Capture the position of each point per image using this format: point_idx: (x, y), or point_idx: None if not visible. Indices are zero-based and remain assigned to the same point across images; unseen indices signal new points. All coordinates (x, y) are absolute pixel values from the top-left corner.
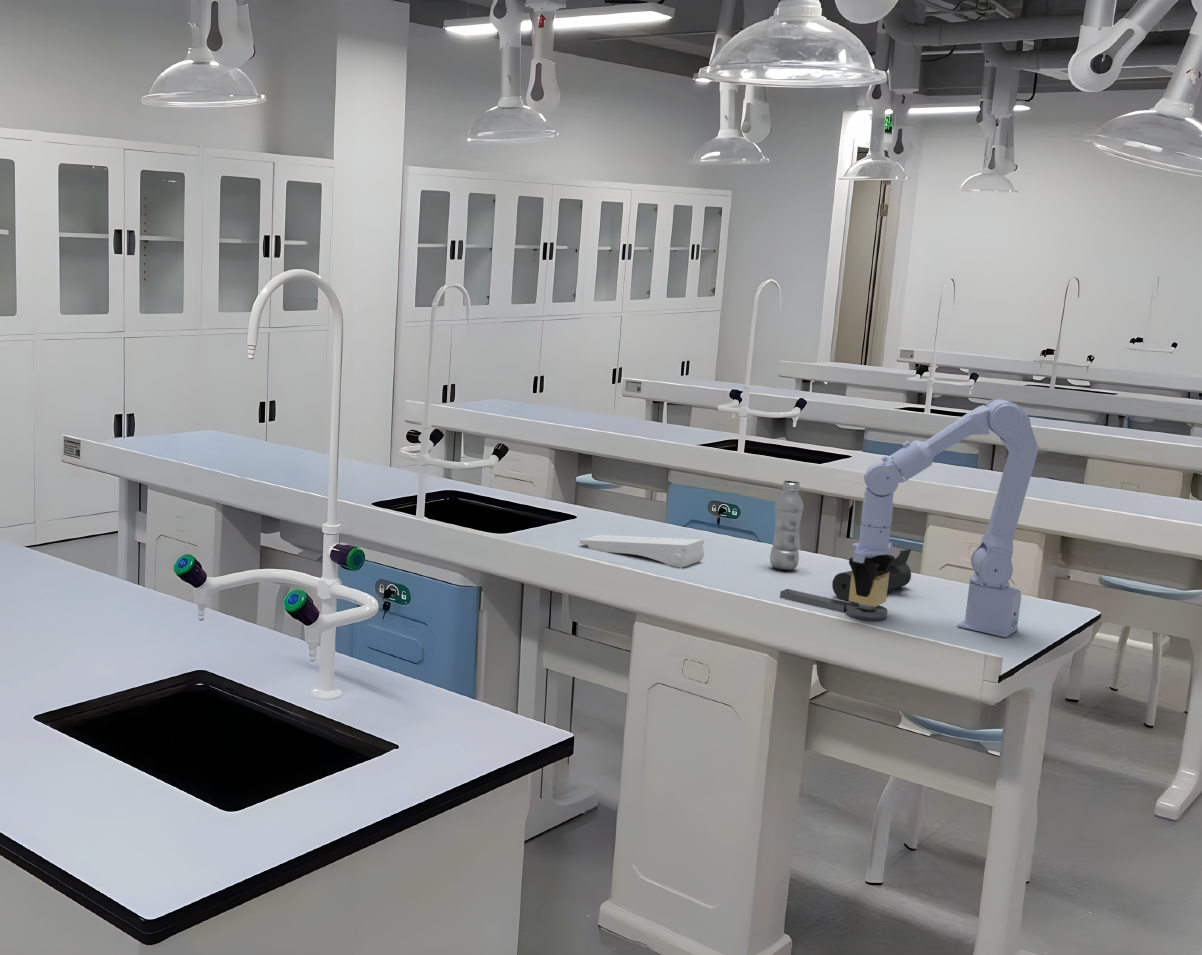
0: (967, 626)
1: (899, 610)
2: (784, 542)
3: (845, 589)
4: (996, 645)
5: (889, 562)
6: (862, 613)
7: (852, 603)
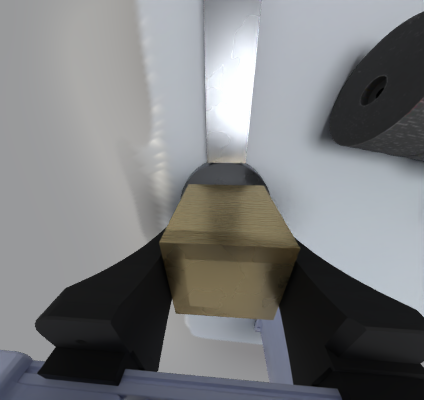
0: None
1: (310, 229)
2: None
3: (357, 103)
4: (219, 324)
5: (290, 366)
6: None
7: (235, 171)
